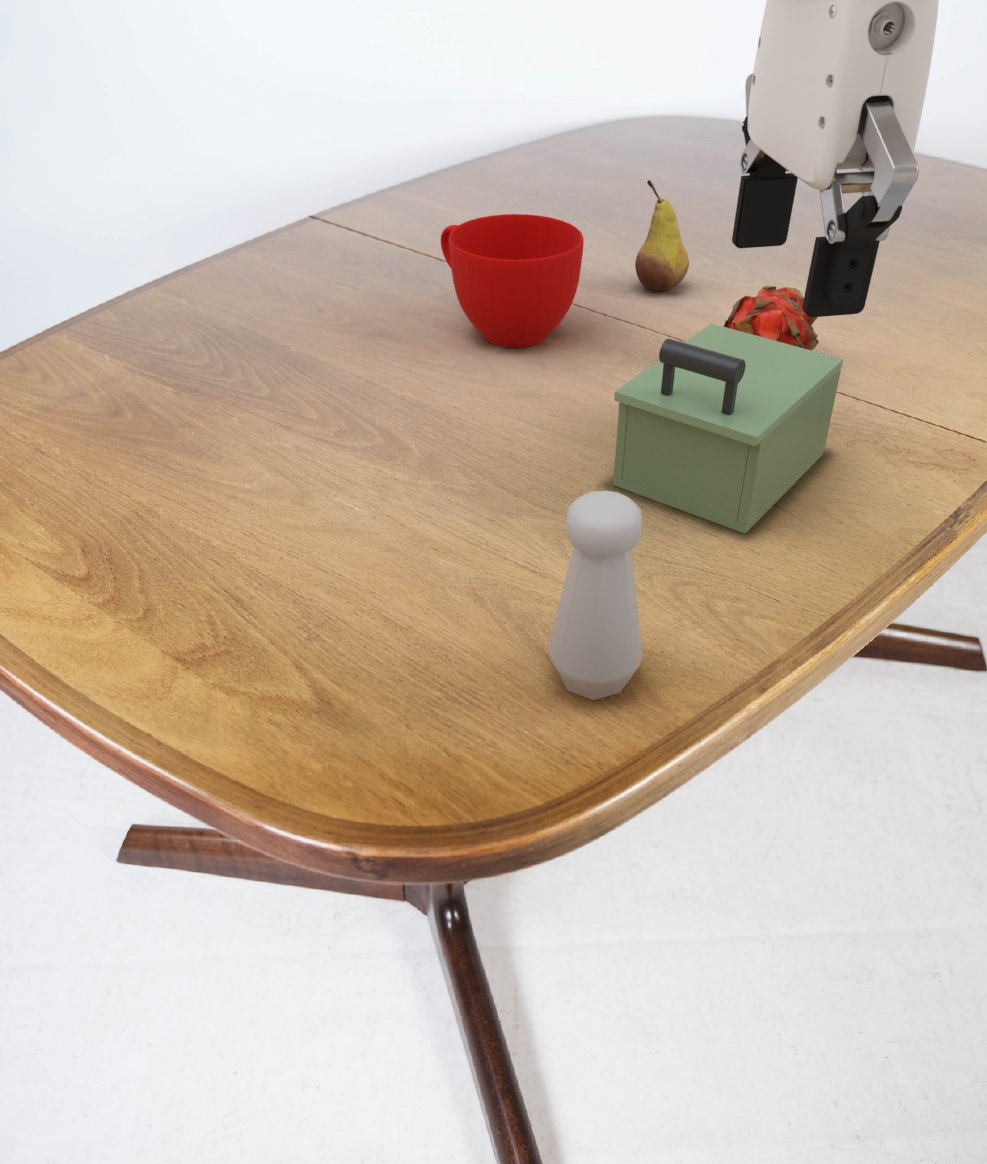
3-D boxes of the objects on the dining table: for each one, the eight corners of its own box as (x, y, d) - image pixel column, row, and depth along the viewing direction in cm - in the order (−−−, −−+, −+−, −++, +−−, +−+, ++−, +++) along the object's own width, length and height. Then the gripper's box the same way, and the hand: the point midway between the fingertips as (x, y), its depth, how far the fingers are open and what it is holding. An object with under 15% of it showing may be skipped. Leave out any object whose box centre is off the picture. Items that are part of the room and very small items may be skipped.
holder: (745, 534, 80) (760, 443, 76) (612, 485, 86) (619, 397, 81) (823, 454, 90) (841, 368, 85) (699, 414, 95) (709, 332, 91)
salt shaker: (656, 695, 66) (677, 520, 59) (572, 720, 65) (581, 543, 57) (613, 639, 71) (627, 469, 63) (533, 660, 69) (537, 488, 61)
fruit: (684, 300, 116) (696, 186, 109) (631, 296, 117) (639, 183, 110) (687, 280, 120) (699, 170, 113) (636, 277, 121) (644, 167, 114)
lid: (755, 447, 75) (766, 382, 72) (613, 400, 81) (618, 338, 78) (841, 368, 85) (854, 308, 82) (709, 331, 91) (717, 274, 88)
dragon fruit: (782, 359, 108) (756, 428, 100) (718, 304, 106) (687, 370, 99) (845, 305, 101) (823, 375, 94) (778, 246, 100) (750, 312, 92)
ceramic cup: (489, 288, 119) (488, 196, 113) (605, 334, 109) (611, 236, 103) (399, 322, 111) (393, 226, 105) (515, 374, 102) (516, 271, 96)
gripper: (1049, -63, 43) (936, 339, 53) (850, -108, 56) (791, 220, 66) (874, -60, 41) (793, 351, 52) (714, -107, 55) (676, 227, 65)
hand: (792, 277), depth 59 cm, fingers open, 9 cm apart
